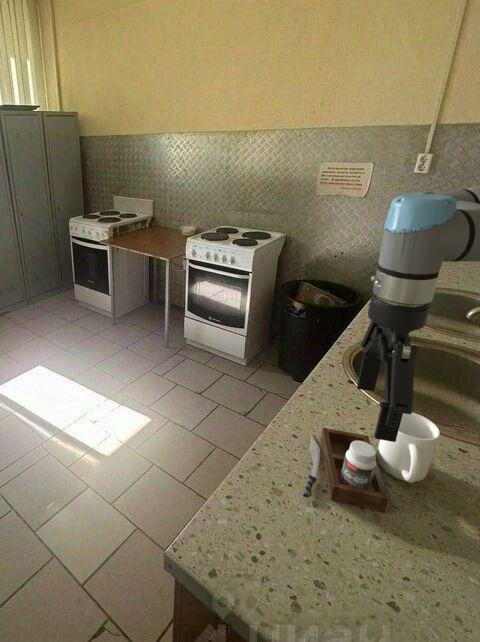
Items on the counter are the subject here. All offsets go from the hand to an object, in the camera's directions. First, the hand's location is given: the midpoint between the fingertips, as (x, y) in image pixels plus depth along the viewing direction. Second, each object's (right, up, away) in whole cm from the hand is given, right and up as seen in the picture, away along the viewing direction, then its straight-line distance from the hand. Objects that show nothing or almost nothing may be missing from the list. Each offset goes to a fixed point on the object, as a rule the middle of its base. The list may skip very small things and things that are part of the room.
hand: (374, 411), depth 68 cm
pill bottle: (0, -15, +5) cm, 16 cm away
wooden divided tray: (+1, -15, +9) cm, 17 cm away
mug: (+11, -15, +8) cm, 20 cm away
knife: (-6, -14, +11) cm, 19 cm away
